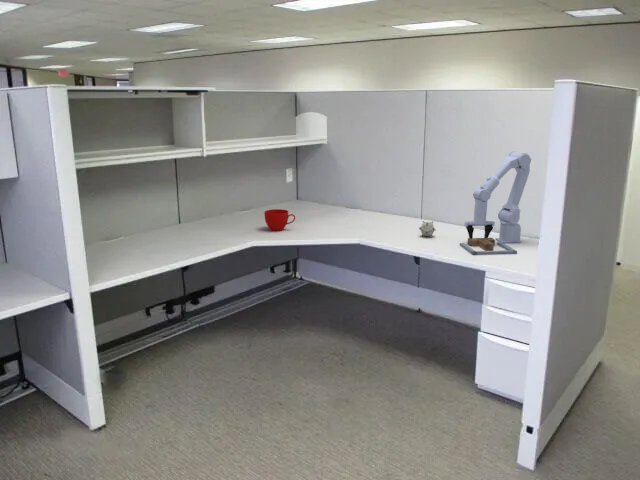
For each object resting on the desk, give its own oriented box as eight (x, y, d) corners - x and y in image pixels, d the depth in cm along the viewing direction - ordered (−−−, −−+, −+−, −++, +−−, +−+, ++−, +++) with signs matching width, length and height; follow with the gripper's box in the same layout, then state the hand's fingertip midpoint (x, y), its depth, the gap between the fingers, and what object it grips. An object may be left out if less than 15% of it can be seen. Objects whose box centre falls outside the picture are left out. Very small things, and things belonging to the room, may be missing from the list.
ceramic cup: (292, 233, 288) (292, 214, 285) (261, 231, 291) (261, 213, 288) (298, 227, 300) (298, 210, 297) (268, 226, 303) (268, 208, 301)
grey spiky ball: (429, 242, 283) (440, 227, 283) (428, 240, 275) (440, 224, 274) (415, 233, 286) (426, 217, 285) (413, 230, 277) (425, 214, 277)
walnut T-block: (491, 243, 267) (491, 237, 266) (501, 250, 255) (501, 244, 255) (467, 244, 266) (467, 238, 265) (476, 250, 254) (477, 244, 254)
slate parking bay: (501, 244, 266) (501, 241, 266) (516, 253, 249) (517, 251, 249) (459, 245, 264) (459, 243, 263) (472, 255, 247) (472, 252, 247)
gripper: (491, 211, 268) (489, 237, 272) (463, 211, 267) (461, 238, 270) (497, 214, 262) (495, 241, 265) (468, 214, 260) (466, 242, 264)
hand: (478, 240), depth 267 cm, fingers open, 7 cm apart
